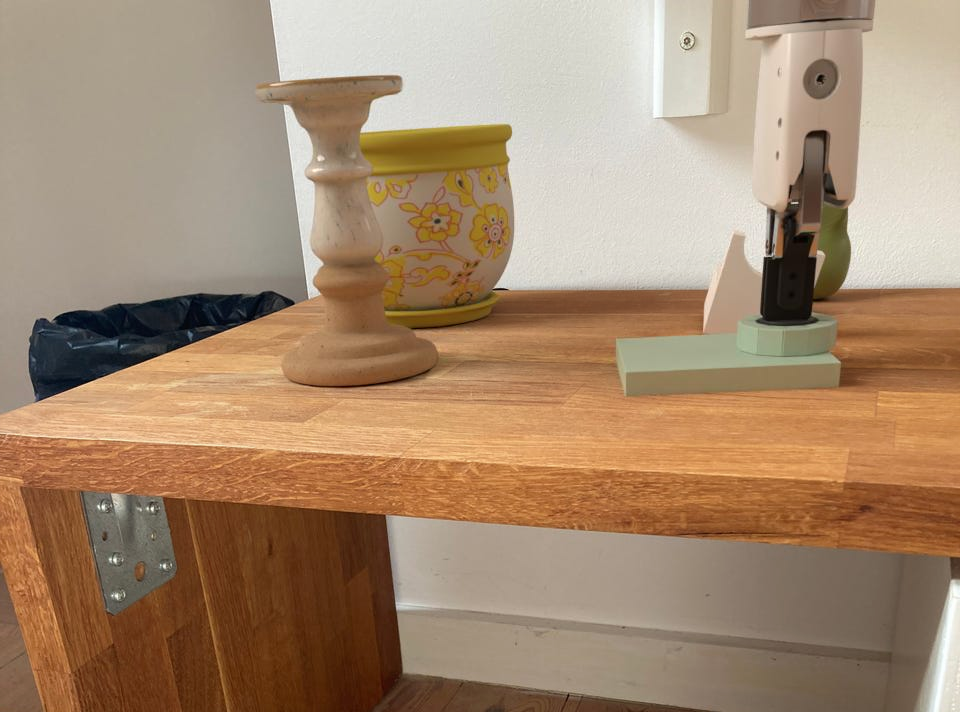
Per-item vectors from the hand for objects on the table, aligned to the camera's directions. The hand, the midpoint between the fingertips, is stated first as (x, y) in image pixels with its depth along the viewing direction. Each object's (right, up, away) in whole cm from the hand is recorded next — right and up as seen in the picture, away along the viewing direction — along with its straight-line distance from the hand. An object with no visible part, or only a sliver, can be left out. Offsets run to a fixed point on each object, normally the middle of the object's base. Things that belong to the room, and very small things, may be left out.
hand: (785, 317), depth 71 cm
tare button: (0, -2, +1) cm, 2 cm away
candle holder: (-31, -1, +10) cm, 32 cm away
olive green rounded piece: (+11, +10, +26) cm, 30 cm away
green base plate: (-4, -3, +2) cm, 6 cm away
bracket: (+2, +4, +16) cm, 17 cm away
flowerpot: (-26, +9, +30) cm, 41 cm away
